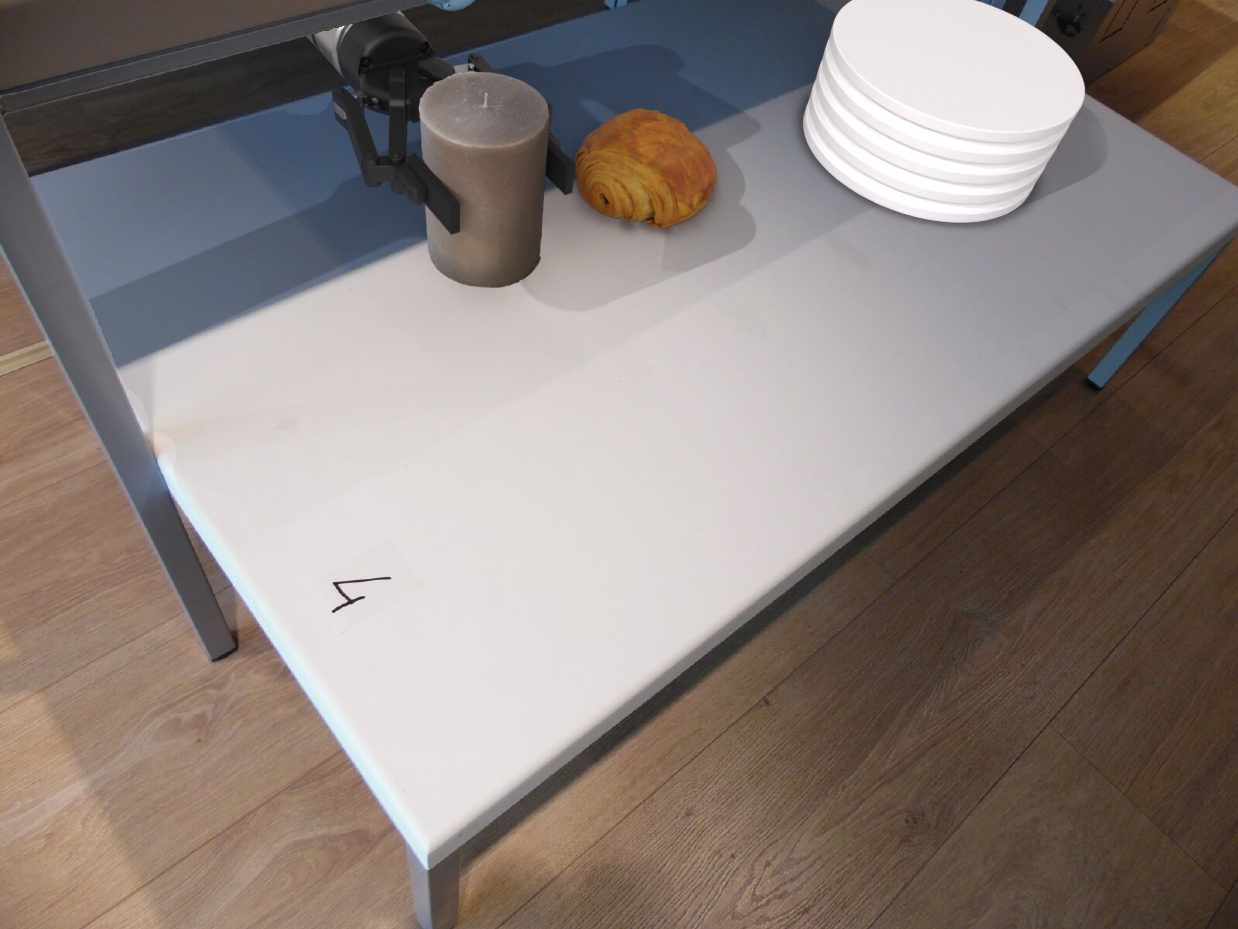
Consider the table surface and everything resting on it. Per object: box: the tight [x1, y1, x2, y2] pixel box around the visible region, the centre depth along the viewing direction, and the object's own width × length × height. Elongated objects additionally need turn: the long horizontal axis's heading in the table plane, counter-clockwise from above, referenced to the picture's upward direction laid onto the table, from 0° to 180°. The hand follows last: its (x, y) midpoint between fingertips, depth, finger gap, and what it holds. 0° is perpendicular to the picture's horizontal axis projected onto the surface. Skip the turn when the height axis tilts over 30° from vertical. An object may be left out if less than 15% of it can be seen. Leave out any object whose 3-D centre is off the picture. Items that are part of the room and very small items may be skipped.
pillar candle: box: [419, 71, 549, 289], centre depth 72 cm, size 10×10×15 cm
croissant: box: [574, 107, 718, 229], centre depth 95 cm, size 14×16×8 cm
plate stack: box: [802, 0, 1086, 224], centre depth 104 cm, size 28×28×12 cm
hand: (514, 198), depth 70 cm, fingers closed on pillar candle, 10 cm apart
